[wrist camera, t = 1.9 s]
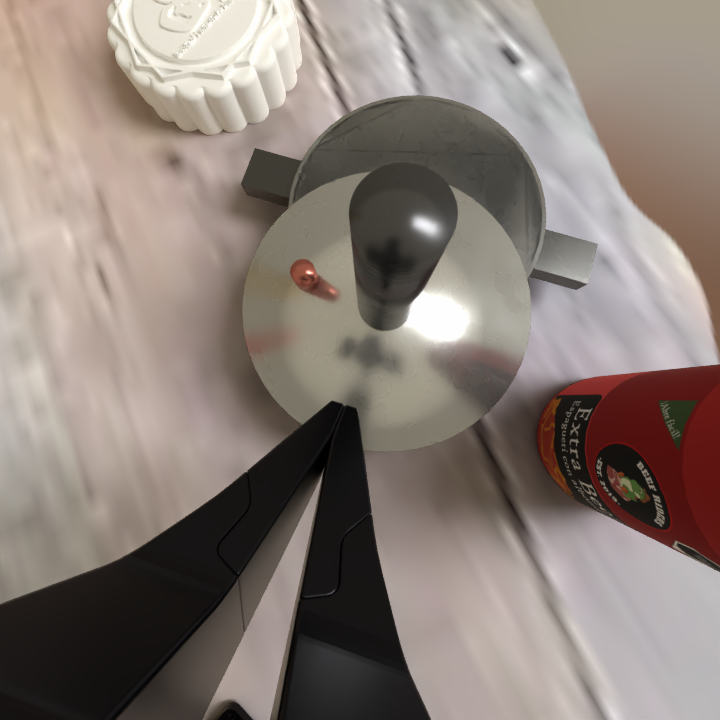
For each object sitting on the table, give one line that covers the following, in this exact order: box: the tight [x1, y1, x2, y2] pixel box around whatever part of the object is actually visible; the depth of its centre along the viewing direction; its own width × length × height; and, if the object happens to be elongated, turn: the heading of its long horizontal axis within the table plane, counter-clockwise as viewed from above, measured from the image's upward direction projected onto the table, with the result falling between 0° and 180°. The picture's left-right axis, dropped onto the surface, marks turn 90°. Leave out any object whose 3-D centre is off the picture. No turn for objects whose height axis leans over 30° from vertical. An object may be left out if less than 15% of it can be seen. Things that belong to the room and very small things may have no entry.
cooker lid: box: [242, 162, 531, 452], centre depth 13 cm, size 15×15×9 cm
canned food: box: [537, 365, 720, 572], centre depth 14 cm, size 8×8×11 cm
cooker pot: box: [241, 95, 598, 290], centre depth 19 cm, size 14×20×3 cm
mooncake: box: [107, 0, 302, 135], centre depth 21 cm, size 12×12×4 cm
